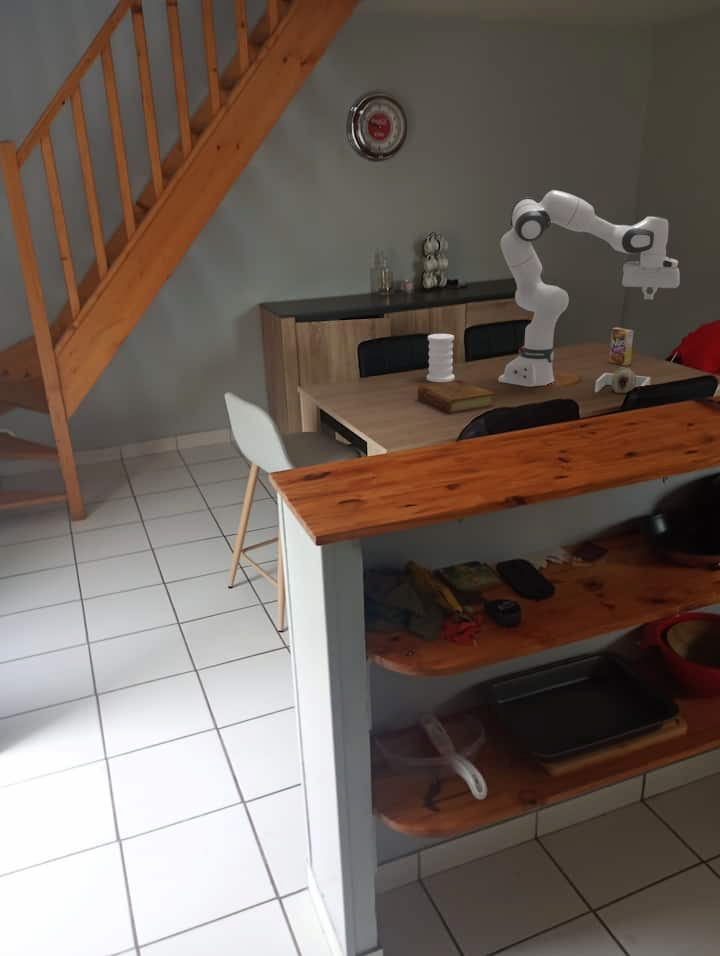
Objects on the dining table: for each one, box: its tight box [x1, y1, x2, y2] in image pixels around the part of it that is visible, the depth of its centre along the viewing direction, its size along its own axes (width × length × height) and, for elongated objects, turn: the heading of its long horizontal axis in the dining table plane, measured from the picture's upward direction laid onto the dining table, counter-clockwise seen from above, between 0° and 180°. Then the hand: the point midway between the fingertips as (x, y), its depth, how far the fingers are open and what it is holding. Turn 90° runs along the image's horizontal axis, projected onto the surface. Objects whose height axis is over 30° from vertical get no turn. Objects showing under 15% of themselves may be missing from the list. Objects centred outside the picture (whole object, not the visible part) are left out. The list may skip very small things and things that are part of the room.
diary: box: [417, 379, 494, 415], centre depth 278 cm, size 23×19×6 cm
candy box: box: [609, 326, 634, 366], centre depth 325 cm, size 9×4×15 cm, turn 28°
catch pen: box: [594, 372, 652, 393], centre depth 287 cm, size 18×14×4 cm
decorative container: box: [426, 333, 455, 383], centre depth 310 cm, size 12×12×18 cm
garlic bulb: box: [611, 366, 637, 394], centre depth 285 cm, size 9×8×10 cm
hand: (648, 299), depth 282 cm, fingers closed
